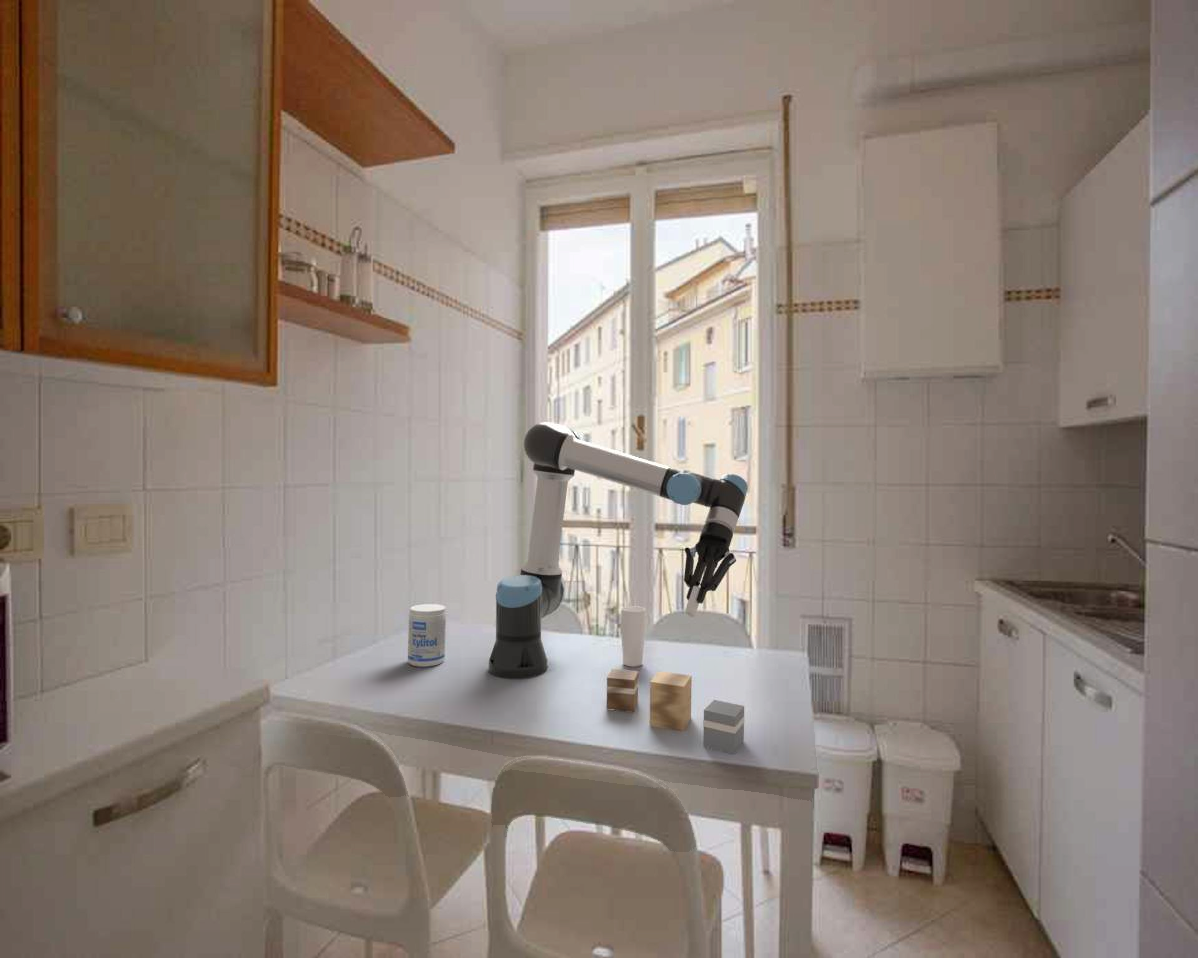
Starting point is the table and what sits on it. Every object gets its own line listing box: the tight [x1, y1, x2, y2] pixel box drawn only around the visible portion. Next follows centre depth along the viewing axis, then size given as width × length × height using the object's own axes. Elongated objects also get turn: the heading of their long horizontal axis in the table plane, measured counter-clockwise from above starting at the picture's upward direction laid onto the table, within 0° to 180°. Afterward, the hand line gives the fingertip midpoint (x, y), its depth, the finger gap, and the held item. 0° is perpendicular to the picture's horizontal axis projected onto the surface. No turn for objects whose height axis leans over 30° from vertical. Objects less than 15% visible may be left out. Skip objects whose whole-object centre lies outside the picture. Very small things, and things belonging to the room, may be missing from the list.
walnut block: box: [606, 668, 639, 713], centre depth 132 cm, size 6×6×7 cm
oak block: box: [649, 671, 693, 732], centre depth 124 cm, size 7×7×9 cm
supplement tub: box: [407, 603, 447, 668], centre depth 160 cm, size 10×10×15 cm
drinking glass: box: [620, 605, 647, 668], centre depth 161 cm, size 7×7×15 cm
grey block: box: [702, 699, 745, 755], centre depth 114 cm, size 6×6×7 cm
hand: (689, 613), depth 137 cm, fingers closed
